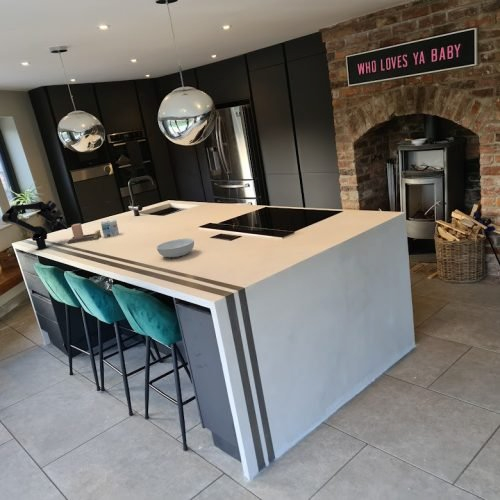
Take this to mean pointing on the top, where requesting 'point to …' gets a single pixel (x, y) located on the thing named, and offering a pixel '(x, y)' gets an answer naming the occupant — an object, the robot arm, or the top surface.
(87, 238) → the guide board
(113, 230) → the light bulb box
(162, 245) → the serving bowl
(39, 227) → the robot arm
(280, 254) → the top surface
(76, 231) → the marker sleeve
